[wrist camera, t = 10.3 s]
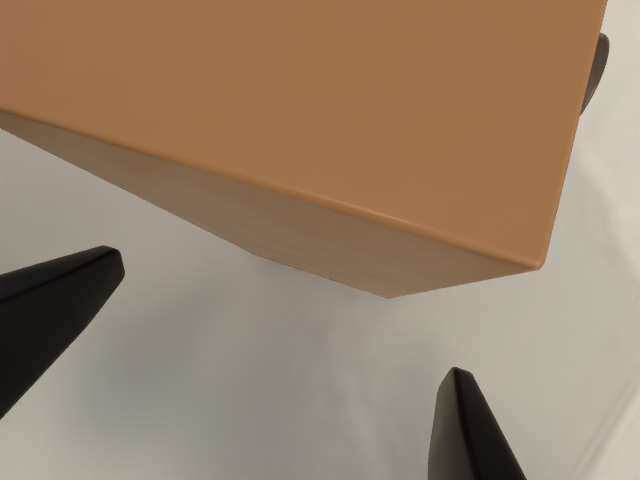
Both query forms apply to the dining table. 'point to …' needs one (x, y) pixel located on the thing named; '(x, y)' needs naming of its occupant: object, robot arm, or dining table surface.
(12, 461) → the dining table surface
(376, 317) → the dining table surface
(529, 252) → the cardboard box
